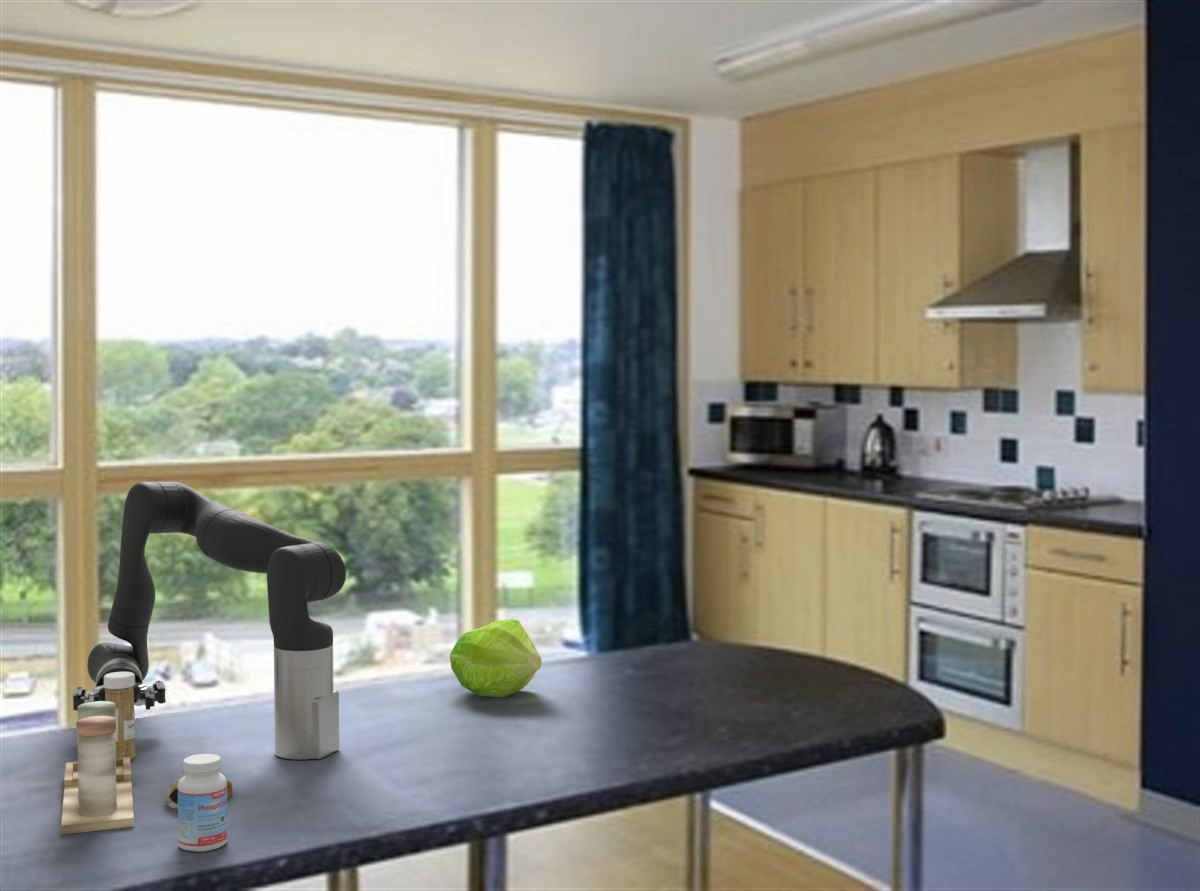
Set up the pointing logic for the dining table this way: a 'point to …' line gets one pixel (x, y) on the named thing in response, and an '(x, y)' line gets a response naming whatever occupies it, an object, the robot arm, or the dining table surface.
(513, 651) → the lettuce
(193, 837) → the pill bottle
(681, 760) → the dining table surface
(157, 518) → the robot arm
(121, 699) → the spice jar
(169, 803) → the pastry
